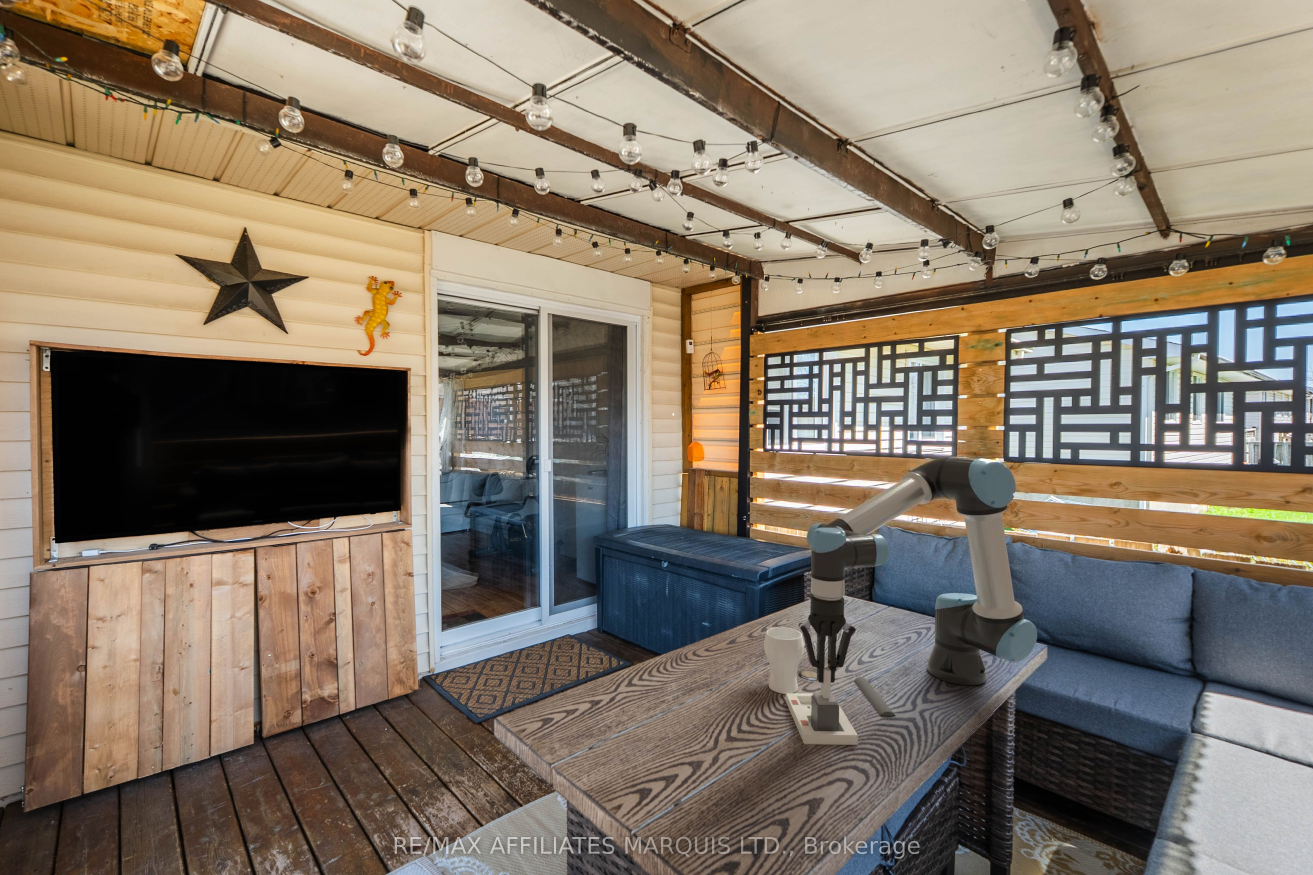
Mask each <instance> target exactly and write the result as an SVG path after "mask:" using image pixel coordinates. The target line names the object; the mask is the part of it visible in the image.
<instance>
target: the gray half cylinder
mask: <svg viewBox="0 0 1313 875" xmlns="http://www.w3.org/2000/svg"><path fill="white" fill-rule="evenodd" d="M853 683H854V684H855V685H856V686H857V688H858V689H859V690H860V692H861V693H862V694H863V696H865V698H866V699H867V701H868V702H869V703H870V704H871V706H872V707H873V709H874V710H875V711H876V713H877V714H878V716H883V717H887V716H889V717H894V716H895V717H896V714H895V713H894V712H893V711H892V709H891V708H890V707H889V705H888V704H887V703H886V702H885V700H884V699H883V698H882V697H881V696H880V695H879V693H878V692H877V691H876V689H875V688H874V687H873V686H872V685H871V683H870V682H869V681H868V679H867V678H865V677H863V676H858V677H856V678H855V679H854V681H853Z"/></svg>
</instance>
